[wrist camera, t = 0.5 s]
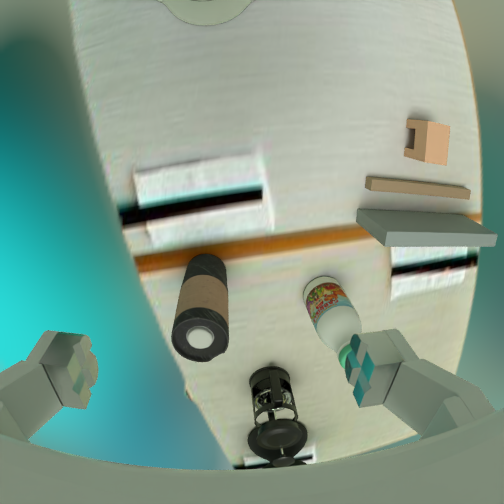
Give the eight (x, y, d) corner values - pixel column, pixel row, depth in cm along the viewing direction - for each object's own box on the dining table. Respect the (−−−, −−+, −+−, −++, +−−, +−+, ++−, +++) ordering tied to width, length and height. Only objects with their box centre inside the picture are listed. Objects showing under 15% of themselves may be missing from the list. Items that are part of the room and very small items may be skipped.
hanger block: (406, 119, 50) (427, 120, 43) (428, 123, 50) (450, 126, 44) (403, 156, 52) (424, 162, 46) (425, 159, 53) (446, 165, 46)
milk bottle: (347, 283, 62) (389, 346, 43) (326, 314, 64) (359, 382, 46) (315, 269, 60) (351, 333, 41) (295, 301, 62) (320, 372, 44)
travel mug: (187, 249, 56) (171, 313, 38) (230, 255, 57) (233, 321, 39) (183, 287, 59) (169, 359, 41) (224, 292, 60) (225, 365, 42)
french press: (287, 394, 73) (304, 472, 52) (248, 396, 72) (257, 477, 51) (292, 359, 68) (314, 443, 47) (250, 361, 68) (260, 448, 46)
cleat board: (361, 176, 53) (393, 192, 42) (466, 187, 55) (504, 203, 44) (356, 221, 57) (384, 246, 46) (459, 225, 59) (494, 246, 48)
